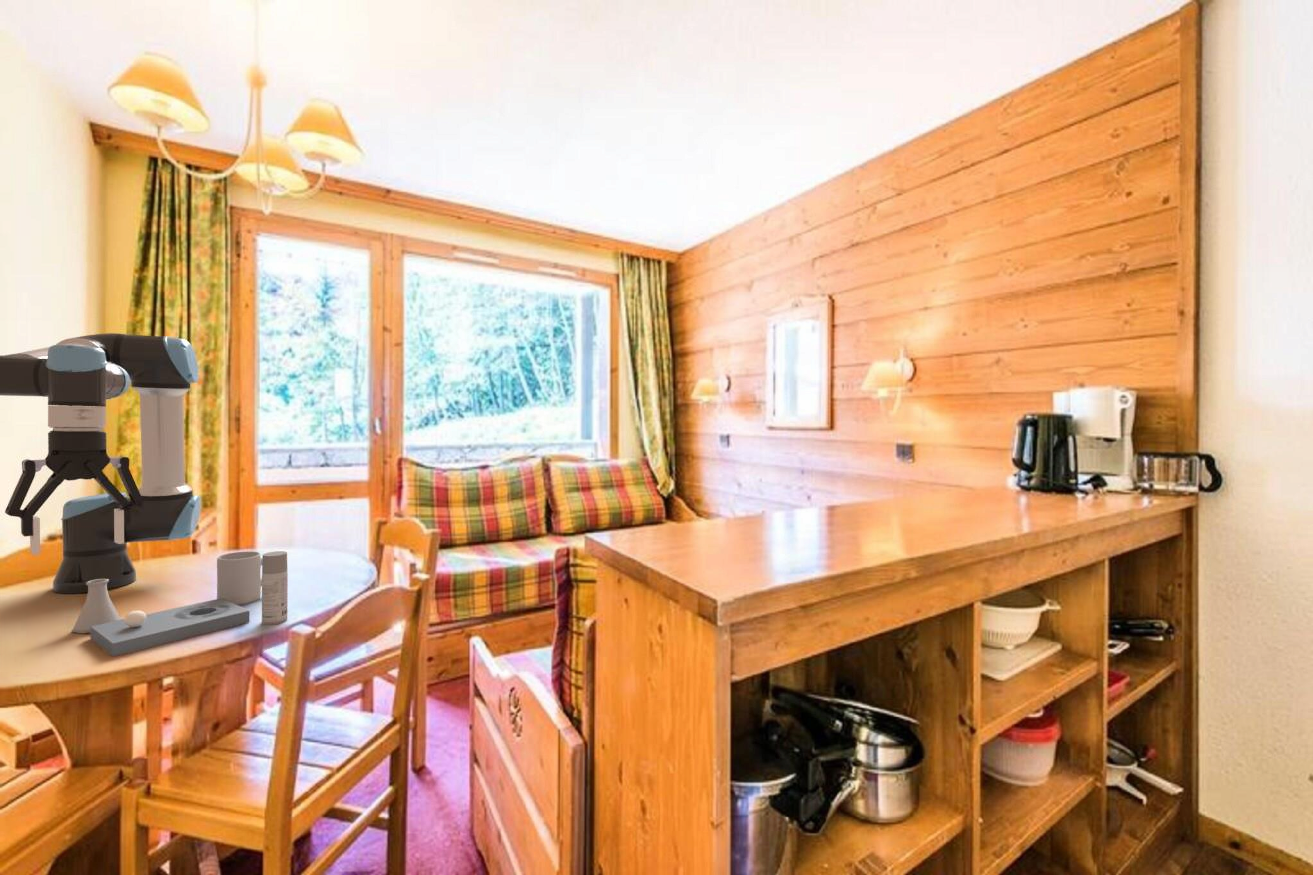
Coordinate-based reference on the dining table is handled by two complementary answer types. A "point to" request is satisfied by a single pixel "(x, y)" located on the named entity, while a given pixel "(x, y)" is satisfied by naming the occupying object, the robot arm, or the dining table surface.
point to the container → (274, 587)
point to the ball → (135, 619)
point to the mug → (239, 577)
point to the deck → (168, 626)
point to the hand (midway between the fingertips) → (79, 547)
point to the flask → (96, 607)
